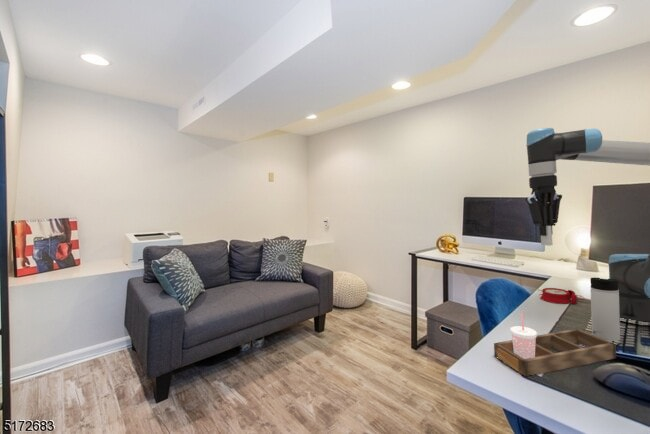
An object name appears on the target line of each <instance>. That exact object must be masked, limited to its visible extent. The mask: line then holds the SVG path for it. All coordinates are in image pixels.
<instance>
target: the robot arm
mask: <svg viewBox="0 0 650 434" xmlns="http://www.w3.org/2000/svg"><path fill="white" fill-rule="evenodd" d="M525 146H526V152H527V153H526V154H527V165H528V176H529V177H530V178H528V181H529V182H528V184H529V189H531V193H530V196H529V197H526V198H525V202H526V203H527V205H528V209H529V211H530V216H531V219H532V222H533V225H535V226H536V227H539V228H538V229H539V235H540V243H541V244H540V245H542V246H549V247H550V246H553V235H554V234H553V226H556V225H557V223H558V221H559V220H558V219H559V212H560V205H561V201H562V198H563V195H562V194H558V193H557V190H556V189H555V187H557V186H558V176H557V175H556V174H557V170H558V169H557V162H556V161H558V160H559V161H560V160H562V161H563V160H564V161H565V160H566V161H582V162H595V163H610V164H623V165H637V166H647V167H648V166H650V142H648V141H647V142H644V141H643V142H642V141H624V140H605V139H603V134H602V132H601V130H599V128H584V129H581V130H580V129H579V130H573V131H572V130H571V131H566V132H565V131H564V132H555V130H554V127H541V128H537V129H533V130H530V131H529V132H528V133H527V134H526V145H525ZM608 275H609V276H608V279H615V280H618V285H619V286H618V287H619V291H618V292H619V313H620V318H624V319H631V320H637V321H643V322H650V253H649V254H648V253H615V254H611V255H609V258H608Z"/></svg>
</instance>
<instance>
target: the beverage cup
mask: <svg viewBox="0 0 650 434" xmlns="http://www.w3.org/2000/svg"><path fill="white" fill-rule="evenodd" d="M524 317H525V314H524V312H521V326H520V325H516V326H515V325H514V326H511V327H510V330H509V331H510V334H511V336H512V337H511V340H513V349H514V353H515V354H517V355H518V356H520V357H522V358H524V359H528V358H533V357H535V342H536V336H538V332H537V331H536V330H535V329H533V328H530V327H528V326H525V318H524Z"/></svg>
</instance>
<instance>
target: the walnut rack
mask: <svg viewBox="0 0 650 434" xmlns="http://www.w3.org/2000/svg"><path fill="white" fill-rule="evenodd" d="M581 344H583V345H585V346H588V347H585V346H583V345H582V346H581ZM550 349H553V350H555V351H557V352H553V351H551V350H550ZM493 351H494V352H493V353H494V357H495V356H496V357H498V358H497V359H498V360H499V359H500V360H499V361H501V360H502V361H503V362H502V361H501V362H502V363H504V362H505V363H506V364H505V363H504V364H505V365H507V364H508V365H509V366H508V365H507V366H508V367H510V366H511V367H512V368H511V367H510V368H511V369H513V368H514V369H515V370H514V369H513V370H514V371H516V372H517V371H518V372H517V373H519V374H520V373H521V374H520V375H522V374H523V375H524V376H523V375H522V376H523V377H525V376H527V377H530V376H529V375H532V376H536V375H535V374H537V375H541V374H546V373H550V372H556V371H560V370H566V369H570V368H576V367H580V366H584V365H590V364H594V363H595V364H596V363H599V362H604V361H609V360H615V359H617V346H616V344H614V343H612V342H609V341H607V340H604V339H602V338H599V337H597V336H594V335H592V333H588V332H586V331H584V330H581V329H579V328H573V329H566V330H562V331H556V332H550V333H545V334H537V336H536V342H535V357H533V358H528V359H524V358H522V357H520V356H518V355H517V354H515V353H514V349H513V340H512V339H510V340H506V341H505V340H504V341H499V342H494V343H493ZM496 357H495V358H496Z"/></svg>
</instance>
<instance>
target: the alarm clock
mask: <svg viewBox="0 0 650 434" xmlns="http://www.w3.org/2000/svg"><path fill="white" fill-rule="evenodd" d="M537 291H540V292H542V293H541V294H540V293H539V295H538V296H540V298H539V299H541V300H543V301H545V302H547V303H553V304H560V305H561V304H563V305H565V304H566V305H567V304H571V305H576V304H577V303H578V301H580V300H581V301H582V300H583V301H584V300H585V297H584V296H582V295H577V294H576V293H575V292H574V291H573V290H572V289H567V290H566V289H562V288H557V287H556V288H555V287H546V288H543V289H539V288H538V289H537ZM578 297H581V298H578Z"/></svg>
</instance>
